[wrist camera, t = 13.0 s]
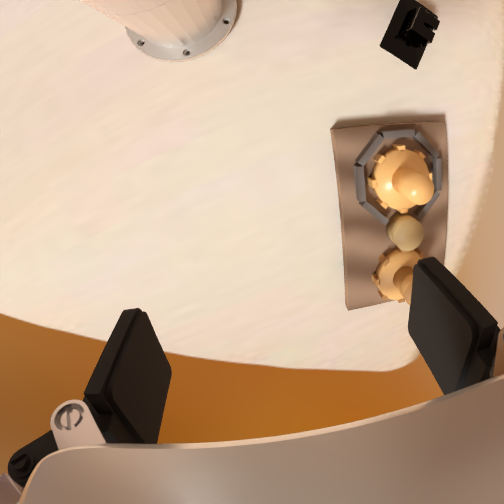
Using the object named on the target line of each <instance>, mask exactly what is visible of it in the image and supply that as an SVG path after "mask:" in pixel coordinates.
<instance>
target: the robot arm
mask: <svg viewBox="0 0 504 504" xmlns="http://www.w3.org/2000/svg"><path fill="white" fill-rule="evenodd" d="M79 1H81V2H83V3H85V4H87V5H89V6H91V7H93V8H95V9H96V10H98V11H100V12H102V13H103V14H105V15H107V16H109V17H111V18H112V19H114V20H116V21H117V22H119V23H121V24H123V25H124V26H125V28H126V32H127V35H128V37H129V39H130V41H131V42H132V44H133V45H134V46H135V47H136V48H137V49H138V50H139V51H141V52H142V53H144V54H145V55H147V56H149V57H151V58H154V59H157V60H160V61H167V62H182V61H186V60H191V59H194V58H197V57H200V56H202V55H204V54H206V53H208V52H209V51H211V50H213V49H214V48H215V47H216V46H218V45H219V44H220V43H221V42H222V41H223V40H224V39H225V38H226V36H227V35H228V33H229V32H230V30H231V29H232V27H233V24H234V21H235V18H236V12H237V2H236V0H79ZM225 21H228V22H229V23H228V24H224V22H225ZM143 42H145V43H144V45H143V46H142V45H141V44H142V43H143ZM187 52H190V54H189V55H186V53H187ZM497 324H498V322H497V321H496V320H495V319H494V318H493V316H492V315H491V314H490V313H489V312H488V311H487V310H486V309H485V308H484V307H483V305H482V304H481V303H480V302H479V301H478V300H477V299H476V298H475V297H474V296H473V295H472V294H471V293H470V292H469V291H468V290H467V289H466V288H465V286H464V285H463V284H462V283H461V282H460V281H459V280H458V279H457V278H456V277H455V276H454V275H453V274H452V273H451V272H450V271H449V270H448V269H447V268H446V267H445V266H444V265H442V264H441V263H440V262H439V261H438V260H437V259H436V258H435V257H428V258H424V259H419V260H418V262H417V264H415V265H414V268H413V280H412V292H411V303H410V312H409V321H408V331H409V334H410V336H411V338H412V339H413V341H414V343H415V344H416V346H417V348H418V349H419V351H420V353H421V355H422V356H423V358H424V359H425V361H426V363H427V365H428V367H429V368H430V370H431V372H432V374H433V375H434V377H435V379H436V381H437V383H438V384H439V386H440V388H441V390H442V392H443V394H444V396H441V397H438V398H435V399H432V400H429V401H426V402H423V403H420V404H417V405H414V406H411V407H408V408H404V409H401V410H397V411H394V412H390V413H387V414H383V415H379V416H376V417H372V418H368V419H364V420H360V421H355V422H351V423H347V424H342V425H337V426H333V427H328V428H323V429H318V430H312V431H306V432H301V433H294V434H288V435H281V436H274V437H265V438H257V439H248V440H238V441H225V442H210V443H188V444H187V443H186V444H157V441H158V435H159V431H160V426H161V421H162V417H163V411H164V407H165V402H166V398H167V393H168V388H169V384H170V380H171V375H172V374H171V373H172V372H171V367H170V364H169V362H168V360H167V358H166V356H165V354H164V352H163V349H162V347H161V345H160V343H159V341H158V338H157V336H156V334H155V331H154V329H153V327H152V325H151V322H150V320H149V317H148V315H147V313H146V312H142V311H141V309H139V308H136V309H128V310H124V311H123V312H122V314H121V316H120V318H119V320H118V322H117V324H116V326H115V328H114V330H113V332H112V334H111V336H110V338H109V340H108V342H107V344H106V346H105V348H104V350H103V352H102V354H101V356H100V358H99V361H98V363H97V365H96V367H95V369H94V371H93V374H92V376H91V378H90V380H89V382H88V385H87V387H86V389H85V392H84V395H85V397H84V399H83V401H81V400H70V401H67V402H64V403H63V404H61V405H60V406H59V407H58V408H57V409H56V410H55V411H54V413H53V415H52V417H51V428H52V430H51V431H49V432H47V433H46V434H44V435H43V436H41V437H39V438H38V439H36V440H34V441H33V442H31V443H29V444H28V445H26V446H25V447H23V448H21V449H20V450H18V451H17V452H16V453H14V454H13V456H12V457H11V458H10V461H9V463H8V475H6V474H4V473H3V474H2V475H1V476H0V504H504V328H503V329H501V330H500V329H499V327H498V326H497Z"/></svg>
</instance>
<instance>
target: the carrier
mask: <svg viewBox="0 0 504 504" xmlns="http://www.w3.org/2000/svg"><path fill="white" fill-rule="evenodd" d="M330 130H331V137H332V145H333V152H334V160H335V169H336V177H337V186H338V196H339V207H340V218H341V230H342V244H343V259H344V278H345V303H346V307H347V309H348V311H349V310H353V309H358V308H363V307H367V306H372V305H376V304H381V303H385V302H390V301H394V300H397V301H398V302H399V303H400V302H405V300H406V302H407V303H408V304H409V305H410V303H411V292H412V280H413V268H414V265H415V264H417V262H418V260H419V259H424V258H428V257H435V258H436V259H437V260H438V261H439V262H440V263H441V264H442V265H443V264H444V254H445V243H446V228H447V205H448V160H447V137H446V123H445V122H440V121H434V122H409V123H393V124H379V125H367V126H356V127H346V128H337V129H330ZM392 144H402V145H405V149H408V150H410V151H414V150H417V151H420V152H422V153H423V154H424V155H425V156H426V157H425V158H424V161H425V163H426V165H427V168H428V171H429V172H431V173H432V182H433V184H434V193H433V196H432V198H431V200H430V201H429V202H427V203H426V204H424V205H417V204H416V205H415V206H413V207H411V208H409V209H408V213H402V214H401V213H400V212H399V211H398V210H396V209H393V208H391V207H389V206H388V207H387V208H386V209H385V208H384V207H383V206H381V205H380V204H379V203H378V202H377V201H376V200H377V199H378V197H377V196H376V194H375V192H374V190H373V188H372V187H370V186H369V185H368V179H367V177H371V173H372V169H373V166H374V164H375V161H374V160H373V158H374V157H375V155H376V154H377V153H378V154H380V155H381V154H382V153H384V152H385V151H387V150H389V149H392V148H393V145H392Z"/></svg>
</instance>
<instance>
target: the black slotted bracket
mask: <svg viewBox="0 0 504 504" xmlns="http://www.w3.org/2000/svg"><path fill="white" fill-rule="evenodd" d="M437 18H438V17H437V16H436V15H435V14H434V13H432V12H431V11H430V10H428V9H427V8H426V7H424V6H423V5H421V4H420V3H419V2H417V1H416V0H400V1H399V3H398V6H397V8H396V10H395V12H394V15H393V17H392V19H391V21H390V24H389V26H388V28H387V30H386V33H385V35H384V37H383V39H382V42H381V44H380V47H381V48H383V49H385V50H386V51H388V52H390V53H391V54H393V55H394V56H396V57H397V58H399V59H400V60H402V61H403V62H405V63H406V64H408V65H409V66H411V67H412V68H414V69H417V67H418V65H419V62H420V60H421V58H422V55H423V53H424V50H425V48H426V46H427V44H428V43H432V40H433V38H434V35H435V33H434V32H433V30H437V28H438V25H439V23H440V21H439V20H438V19H437Z"/></svg>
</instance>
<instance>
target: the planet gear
mask: <svg viewBox="0 0 504 504" xmlns="http://www.w3.org/2000/svg"><path fill="white" fill-rule="evenodd" d="M392 145H393V148H392V149H389V150H387V151H385V152H384V153H382V154H381V155H380V154H378V153H377V154H376V155H375V157H374V158H373V160H374V161H375V164H374V166H373V169H372V173H371V177H367V179H368V185H369V186H370V187H372V188H373V190H374V192H375V194H376V196H377V197H378V199H377V200H376V201H377V202H378V203H379V204H380V205H381V206H383V207H384V208H385V209H386V208H387V207H388V206H389V207H391V208H393V209H396V210H398V211H399V212H400V213H401V214H402V213H408V209H409V208H411V207H413V206H415V205H416V204H417V205H424V204H426V203H427V202H429V201H430V200H431V198H432V196H433V193H434V184H433V182H432V173H431V172H429V171H428V168H427V165H426V163H425V161H424V158H425V157H426V156H425V155H424V154H423V153H422V152H420V151H417V150H414V151H410V150H408V149H405V145H402V144H392Z"/></svg>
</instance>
